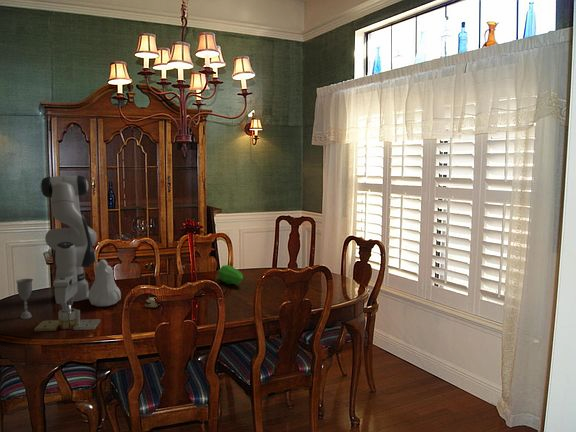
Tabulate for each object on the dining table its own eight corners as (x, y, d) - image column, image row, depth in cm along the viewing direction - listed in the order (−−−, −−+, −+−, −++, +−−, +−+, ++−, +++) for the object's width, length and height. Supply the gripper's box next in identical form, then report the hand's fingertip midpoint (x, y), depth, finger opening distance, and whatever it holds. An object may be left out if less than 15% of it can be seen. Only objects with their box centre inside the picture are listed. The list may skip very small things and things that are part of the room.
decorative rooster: (121, 308, 254) (120, 261, 252) (88, 311, 249) (86, 262, 246) (120, 295, 278) (119, 252, 275) (90, 298, 273) (89, 253, 270)
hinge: (43, 323, 230) (42, 307, 229) (100, 321, 234) (99, 306, 233) (34, 331, 219) (33, 315, 219) (94, 329, 223) (93, 313, 222)
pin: (66, 325, 228) (65, 304, 227) (72, 325, 228) (72, 304, 227) (63, 327, 225) (63, 306, 224) (70, 327, 225) (70, 305, 224)
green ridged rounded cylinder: (225, 260, 321) (246, 267, 295) (232, 275, 324) (253, 283, 299) (210, 268, 316) (231, 276, 290) (217, 283, 319) (238, 293, 293)
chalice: (30, 313, 244) (29, 277, 242) (37, 316, 239) (35, 280, 237) (15, 317, 238) (13, 280, 236) (21, 320, 234) (19, 283, 232)
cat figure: (188, 302, 273) (142, 304, 260) (189, 286, 272) (143, 288, 260) (194, 306, 264) (147, 309, 252) (195, 290, 264) (148, 292, 251)
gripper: (66, 273, 234) (67, 301, 235) (51, 284, 214) (52, 315, 215) (80, 273, 235) (81, 301, 236) (67, 283, 214) (68, 314, 216)
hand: (67, 308), depth 226 cm, fingers open, 6 cm apart
